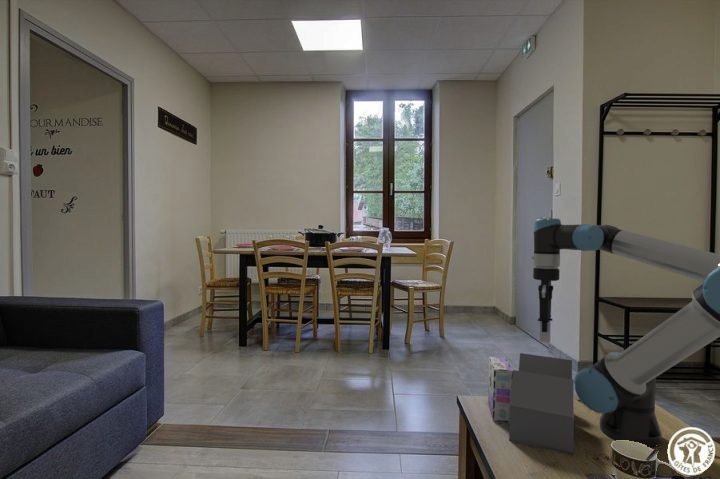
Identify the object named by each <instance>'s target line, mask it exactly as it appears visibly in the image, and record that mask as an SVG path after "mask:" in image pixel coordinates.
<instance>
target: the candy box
mask: <svg viewBox="0 0 720 479" xmlns="http://www.w3.org/2000/svg"><path fill="white" fill-rule="evenodd" d="M513 370H514V369H512V367H511V366H510V363H509V362H508V360H507V358H506V357H498V356H488V385H487V386H488V390H487V391H488V394H487V397H488V399H487V401H488V402H487V404H488V407H489V411H490V414H491V417H492V421H494V422H500V423H507V424H509V419H510V403H511V389H512V376H513Z"/></svg>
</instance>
